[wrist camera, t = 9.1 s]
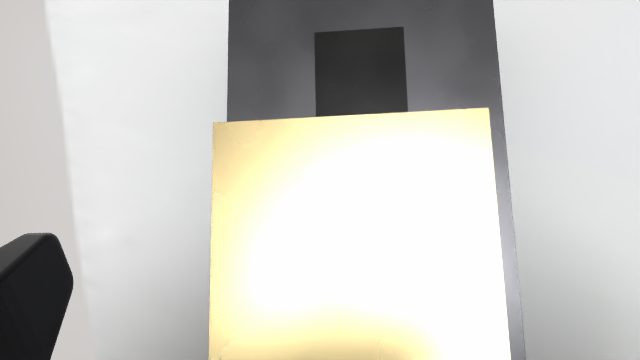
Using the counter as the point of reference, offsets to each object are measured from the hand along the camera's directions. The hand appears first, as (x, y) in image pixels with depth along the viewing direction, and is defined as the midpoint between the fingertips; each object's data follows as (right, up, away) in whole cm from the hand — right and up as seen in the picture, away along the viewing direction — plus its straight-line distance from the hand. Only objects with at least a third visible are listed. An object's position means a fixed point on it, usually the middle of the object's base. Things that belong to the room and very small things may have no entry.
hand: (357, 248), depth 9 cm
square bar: (+1, -3, +13) cm, 13 cm away
